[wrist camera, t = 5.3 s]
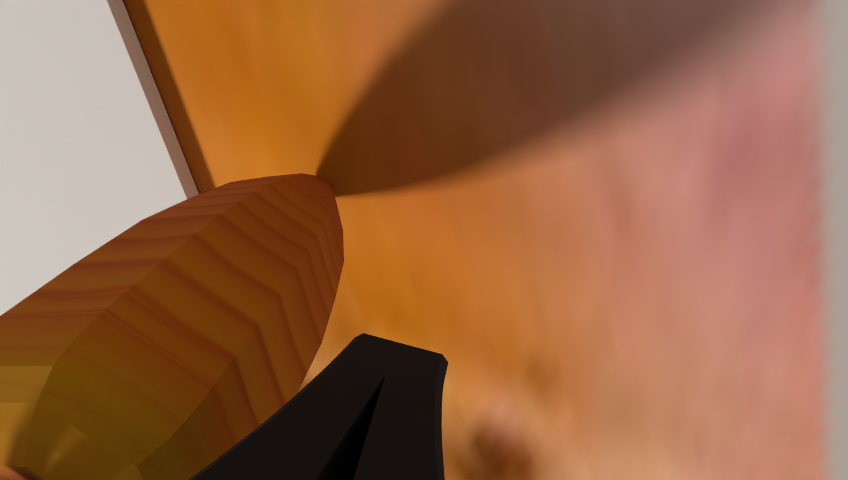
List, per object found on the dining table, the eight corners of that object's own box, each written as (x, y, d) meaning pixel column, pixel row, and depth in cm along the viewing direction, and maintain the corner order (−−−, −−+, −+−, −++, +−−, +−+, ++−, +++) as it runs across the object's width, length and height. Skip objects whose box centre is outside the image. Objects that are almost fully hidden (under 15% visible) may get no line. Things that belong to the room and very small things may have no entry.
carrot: (389, 282, 20) (23, 1003, 7) (236, 236, 21) (-356, 838, 8) (420, 131, 18) (-58, 835, 5) (245, 83, 18) (-615, 604, 5)
